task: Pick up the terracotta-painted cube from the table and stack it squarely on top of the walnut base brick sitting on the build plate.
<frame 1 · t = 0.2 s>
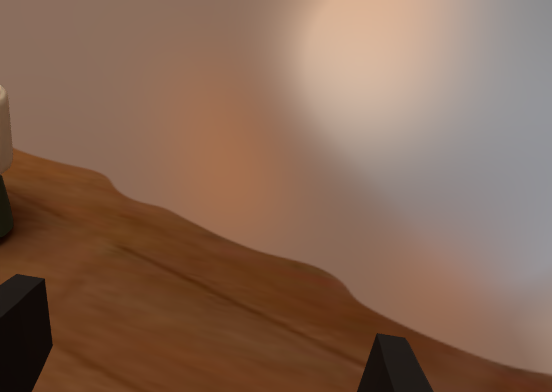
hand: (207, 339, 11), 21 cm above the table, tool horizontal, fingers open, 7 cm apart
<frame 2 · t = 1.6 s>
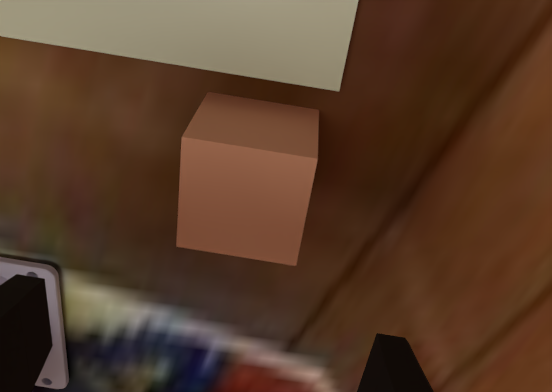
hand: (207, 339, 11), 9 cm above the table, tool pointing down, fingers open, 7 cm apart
terracotta cube: (257, 149, 19), on the table
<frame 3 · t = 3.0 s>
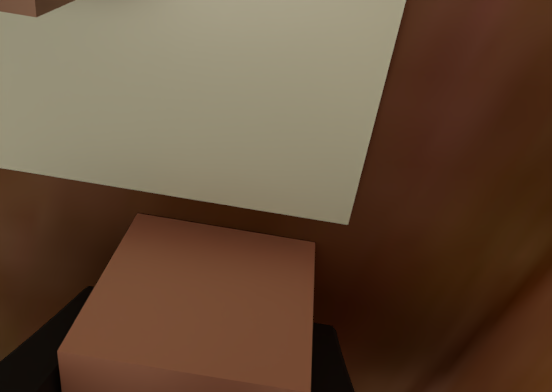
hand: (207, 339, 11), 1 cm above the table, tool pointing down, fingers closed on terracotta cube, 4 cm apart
terracotta cube: (218, 294, 12), on the table, touching gripper
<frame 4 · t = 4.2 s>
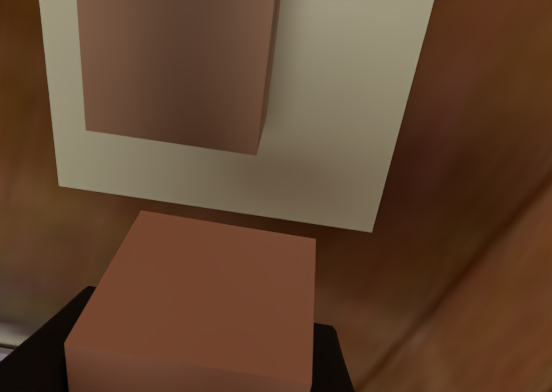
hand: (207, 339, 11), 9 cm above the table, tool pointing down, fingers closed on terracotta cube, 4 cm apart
build plate: (229, 47, 17), on the table
terracotta cube: (221, 291, 13), point 7 cm above the table, touching gripper
walnut base brick: (196, 31, 16), point 1 cm above the table, touching build plate
when the fingers open (6 cm above the table, at t = 5.4 s): terracotta cube stays where it is, resting on walnut base brick.
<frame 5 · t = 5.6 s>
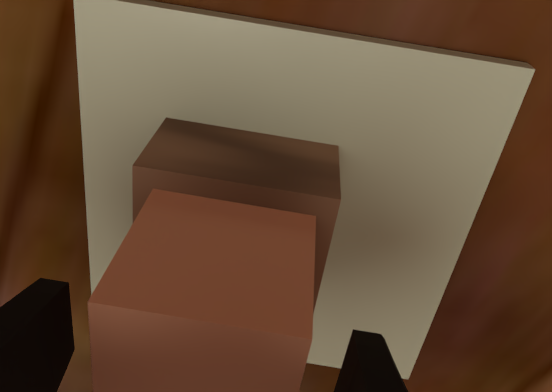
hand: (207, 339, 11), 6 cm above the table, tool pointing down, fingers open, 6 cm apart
build plate: (274, 212, 17), on the table
terracotta cube: (226, 266, 14), point 4 cm above the table, touching walnut base brick
walnut base brick: (242, 204, 16), point 1 cm above the table, touching build plate, terracotta cube
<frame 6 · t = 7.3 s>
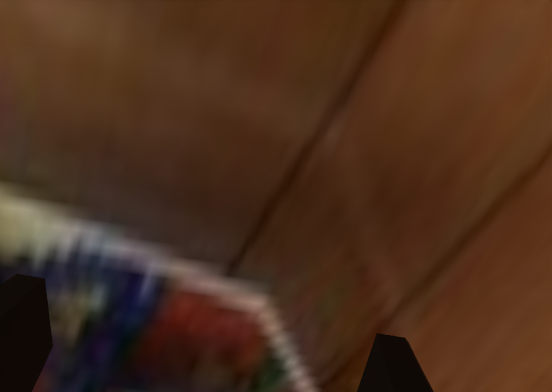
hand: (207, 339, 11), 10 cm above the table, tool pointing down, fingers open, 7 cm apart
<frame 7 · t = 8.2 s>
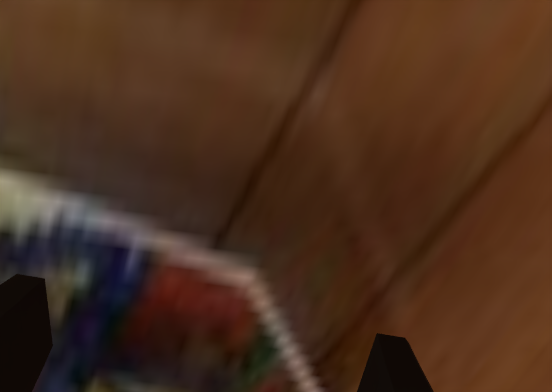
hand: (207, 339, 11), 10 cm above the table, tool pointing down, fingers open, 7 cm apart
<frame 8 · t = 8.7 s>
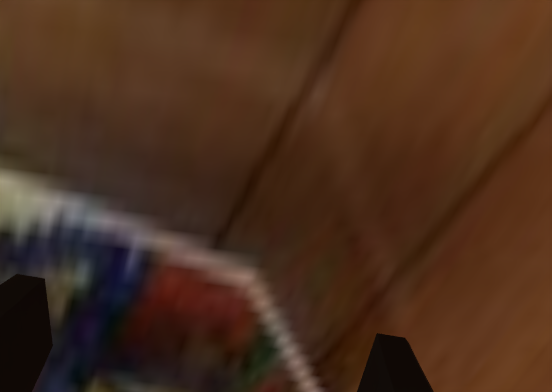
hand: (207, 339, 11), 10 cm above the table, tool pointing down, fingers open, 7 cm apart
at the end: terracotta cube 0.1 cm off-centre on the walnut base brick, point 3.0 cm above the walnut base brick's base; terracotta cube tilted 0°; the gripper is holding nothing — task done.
